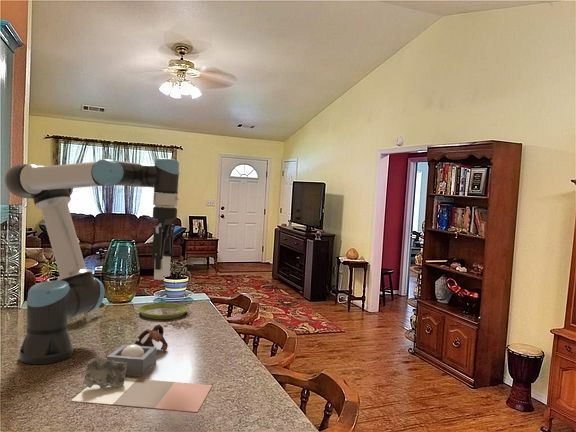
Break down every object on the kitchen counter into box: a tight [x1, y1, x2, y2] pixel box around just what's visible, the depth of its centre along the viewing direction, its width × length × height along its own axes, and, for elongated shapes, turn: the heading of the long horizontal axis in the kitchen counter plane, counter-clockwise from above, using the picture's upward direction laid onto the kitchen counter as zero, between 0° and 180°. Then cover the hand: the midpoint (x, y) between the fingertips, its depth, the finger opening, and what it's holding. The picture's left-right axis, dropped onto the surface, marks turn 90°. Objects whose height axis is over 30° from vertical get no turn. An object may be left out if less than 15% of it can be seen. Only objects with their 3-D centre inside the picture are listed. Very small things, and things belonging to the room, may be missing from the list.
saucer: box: [138, 302, 188, 320], centre depth 198 cm, size 21×21×3 cm
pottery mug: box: [134, 324, 168, 353], centre depth 154 cm, size 12×9×8 cm
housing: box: [106, 344, 158, 377], centre depth 138 cm, size 11×11×5 cm
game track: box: [70, 377, 213, 414], centre depth 122 cm, size 33×16×1 cm, turn 86°
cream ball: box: [121, 343, 144, 357], centre depth 138 cm, size 7×7×7 cm
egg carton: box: [83, 357, 127, 389], centre depth 124 cm, size 11×8×4 cm
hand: (162, 277), depth 146 cm, fingers open, 6 cm apart
